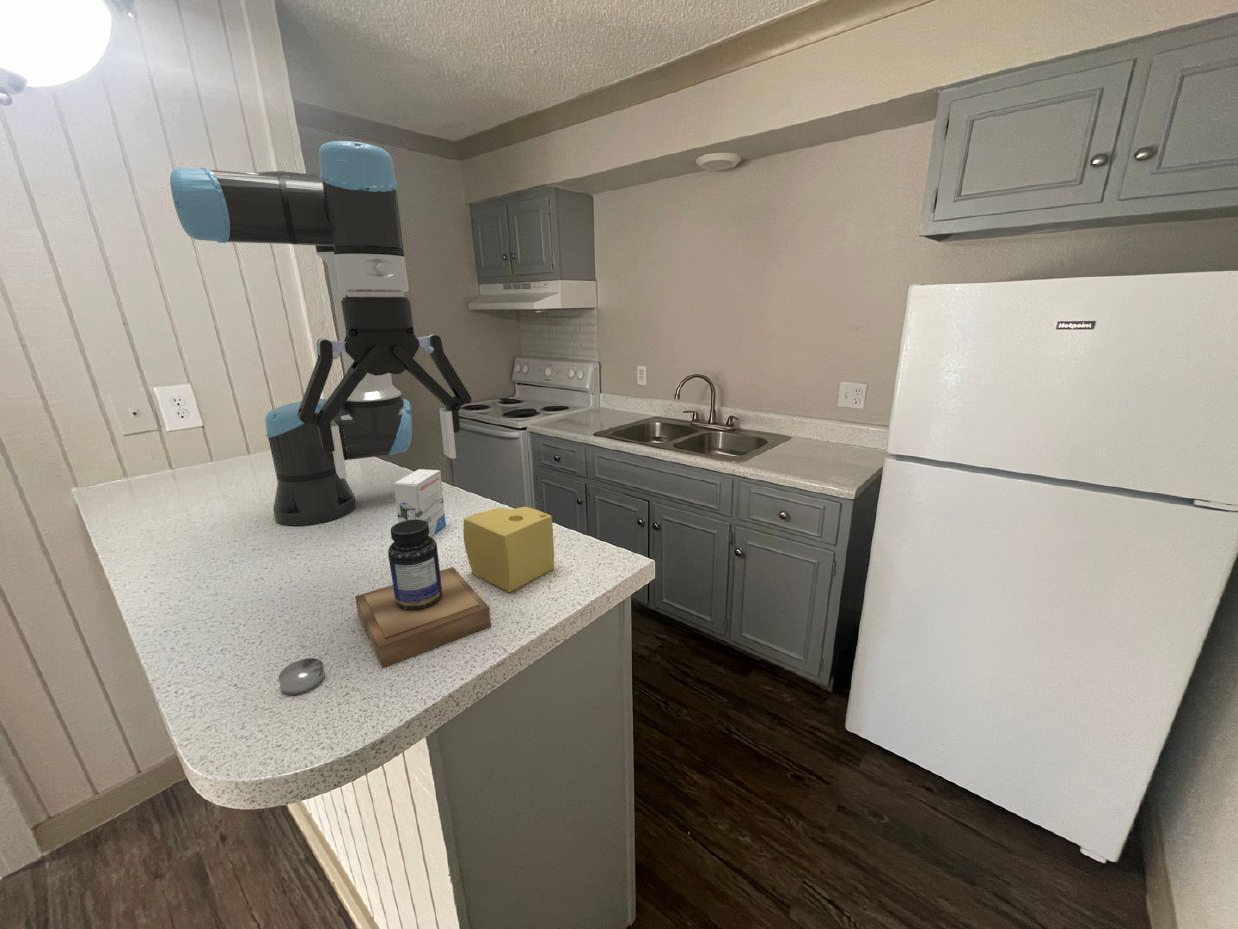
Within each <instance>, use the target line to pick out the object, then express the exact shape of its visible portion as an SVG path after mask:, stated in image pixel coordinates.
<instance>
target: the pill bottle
mask: <svg viewBox="0 0 1238 929" xmlns="http://www.w3.org/2000/svg"><path fill="white" fill-rule="evenodd" d="M428 534H429V525H428V523H427V522H426V521H424V520H418V519H414V520H407V521H402V522H399V523H398V522H397V523H395V524H394V525H392V526H391V528H390V535H391V536H390V538H391V540H392V541H393V542H392V543H391V544H390V545H389V547H388V550H387V554H388V555H387V556H388V562H389V568H390V575H391V581H392V585H393V589H394V595H395V601H396V604H397V605H398V606H399V607H400V608H401V609H404V610H420V609H424V608H427V607H430V606H432V605H434V604H435V603H436V602H438V600H439V599H440V598H441V596H442V584H441V576H440V571H441V568H440V561H439V553H438V552H439V551H438V545H437V542H436V540H435V539H434V538H432V537H430V536H428Z"/></svg>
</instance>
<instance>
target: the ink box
mask: <svg viewBox="0 0 1238 929" xmlns="http://www.w3.org/2000/svg"><path fill="white" fill-rule="evenodd" d="M393 488H394V496H395V505H396V511H397V512H396V513H397V520H398V522H397V523H399V522H402V521H407V520H414V519H418V520H424V521H426V522H427V523H428V525H429V534H428V536H430V537H431V538H432V537H433V536H434V535H435V534H438V532H439V531H440V530H442V529H443V528H444V527H445V526H446V513H445V504H444V503H445V502H444V495H443V483H442V474H441V470H440V469H439V470H438V469H423V468H419V469H416V470H415V471H413V472H411V473H409V474H407V475H406V476H404V477H402V478H400V479H399V480H397V481H394V483H393Z"/></svg>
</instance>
